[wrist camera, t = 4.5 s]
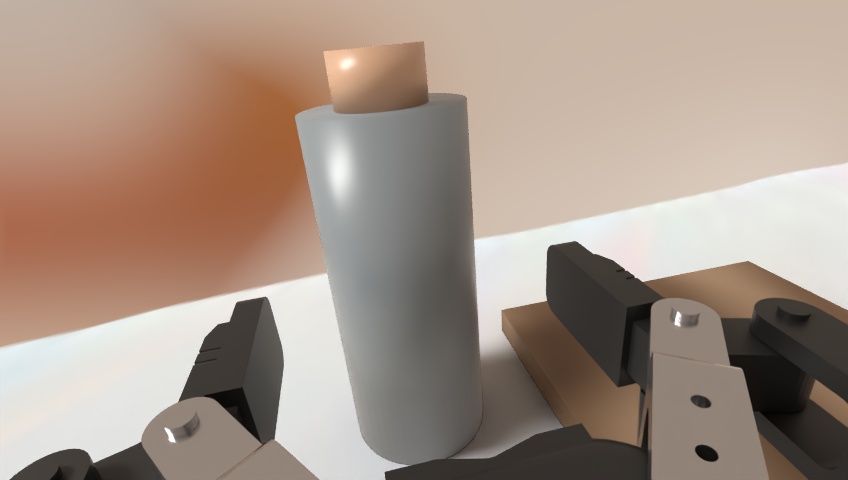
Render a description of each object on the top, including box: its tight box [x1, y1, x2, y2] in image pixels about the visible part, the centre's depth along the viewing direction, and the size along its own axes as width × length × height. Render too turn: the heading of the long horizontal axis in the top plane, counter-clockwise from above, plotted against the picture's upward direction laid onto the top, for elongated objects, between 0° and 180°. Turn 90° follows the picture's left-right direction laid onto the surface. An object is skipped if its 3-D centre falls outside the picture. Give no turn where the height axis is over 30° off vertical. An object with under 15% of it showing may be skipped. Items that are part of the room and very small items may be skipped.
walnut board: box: [502, 261, 848, 480], centre depth 15 cm, size 14×18×1 cm
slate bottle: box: [295, 42, 483, 465], centre depth 15 cm, size 5×5×14 cm
